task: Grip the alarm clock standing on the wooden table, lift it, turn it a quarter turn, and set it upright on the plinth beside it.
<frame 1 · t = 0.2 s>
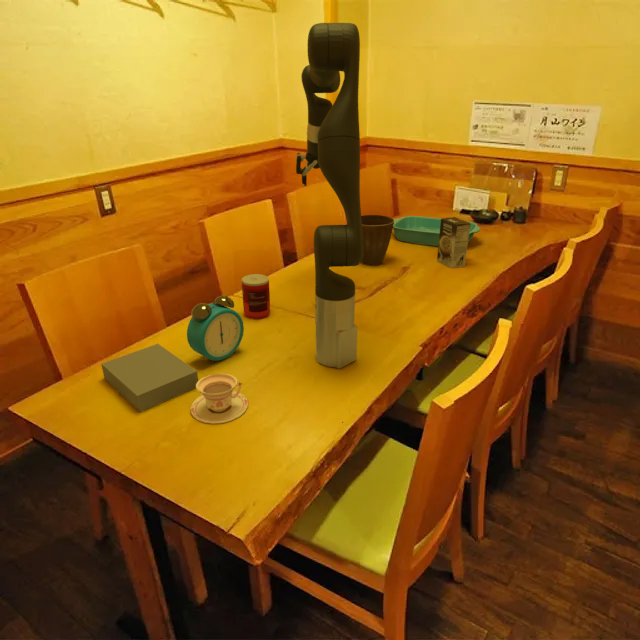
hand: (318, 184, 165), 31 cm above the table, tool tilted 20°, fingers open, 8 cm apart
teacup: (219, 408, 109), on the table
casserole dish: (433, 240, 217), on the table
alarm clock: (218, 356, 129), on the table
canned food: (257, 314, 151), on the table
coffee box: (450, 264, 190), on the table
plant pot: (371, 262, 192), on the table
plinth: (151, 382, 118), on the table
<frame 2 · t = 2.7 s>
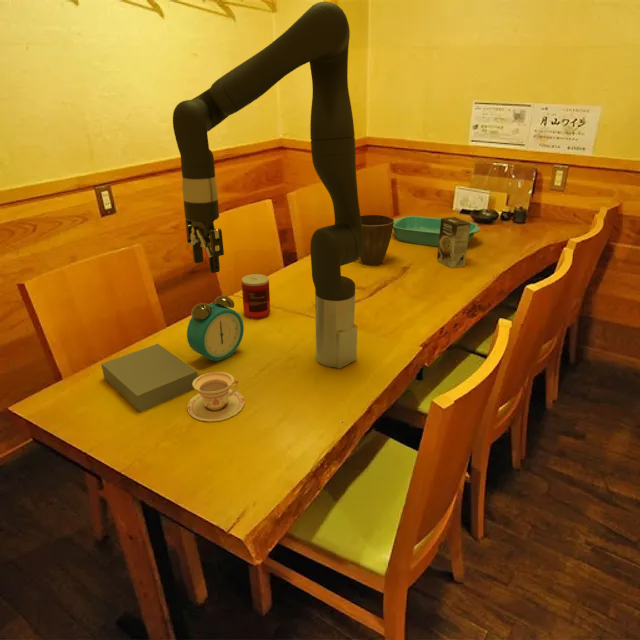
hand: (206, 267, 121), 22 cm above the table, tool pointing down, fingers open, 8 cm apart
teacup: (216, 406, 110), on the table
everything else where it was.
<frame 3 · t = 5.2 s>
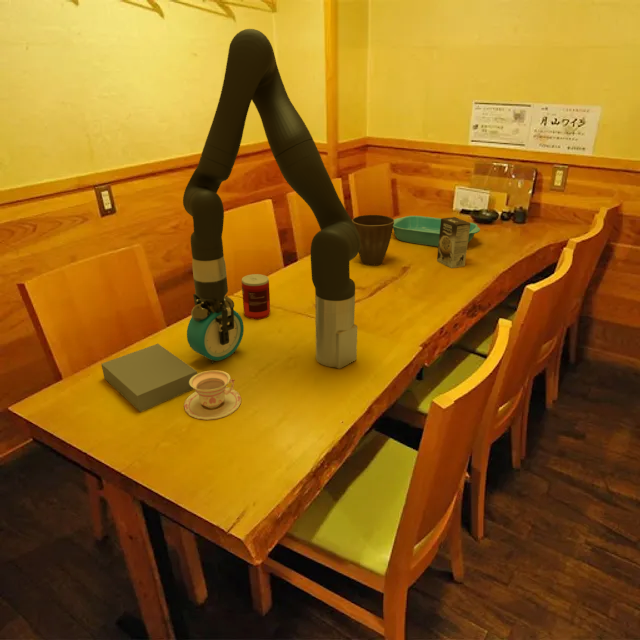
hand: (216, 338, 127), 5 cm above the table, tool pointing down, fingers closed on alarm clock, 6 cm apart
teacup: (213, 404, 111), on the table
alarm clock: (218, 356, 129), on the table, touching gripper
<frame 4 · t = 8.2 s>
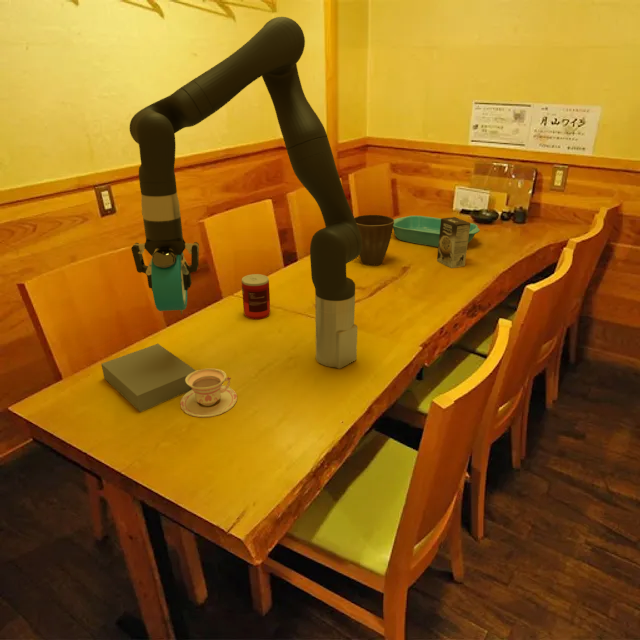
hand: (170, 289, 115), 20 cm above the table, tool pointing down, fingers closed on alarm clock, 6 cm apart
teacup: (209, 402, 111), on the table
alarm clock: (173, 309, 117), point 15 cm above the table, touching gripper
when the fingers open (10 cm above the table, at t = 11.2 s): alarm clock drops 1 cm, resting on plinth.
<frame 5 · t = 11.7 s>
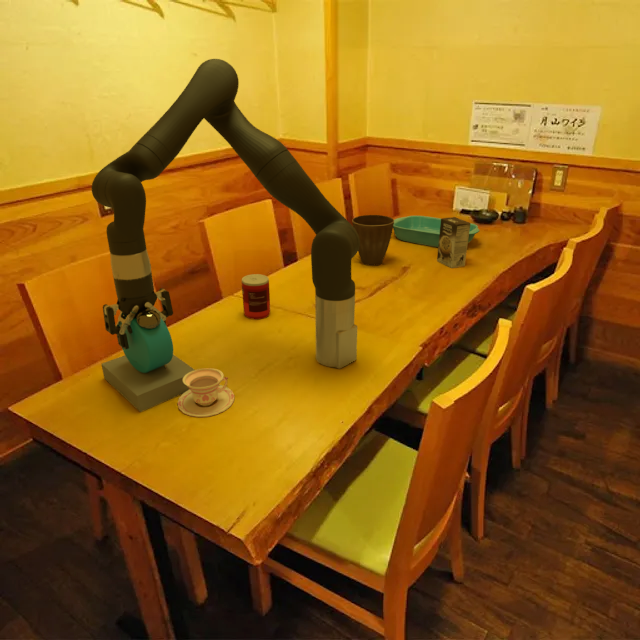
hand: (144, 341, 113), 11 cm above the table, tool pointing down, fingers open, 8 cm apart
alarm clock: (149, 368, 116), point 4 cm above the table, touching plinth
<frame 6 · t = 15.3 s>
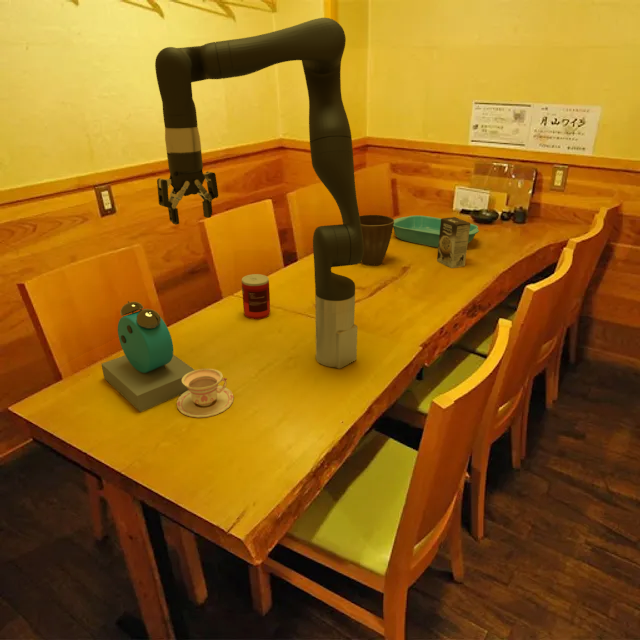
hand: (191, 220, 122), 32 cm above the table, tool pointing down, fingers open, 8 cm apart
at the end: alarm clock inside the target area on the plinth (0.2 cm from its centre), point 3.8 cm above the plinth's base; alarm clock tilted 0°; the gripper is holding nothing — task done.
